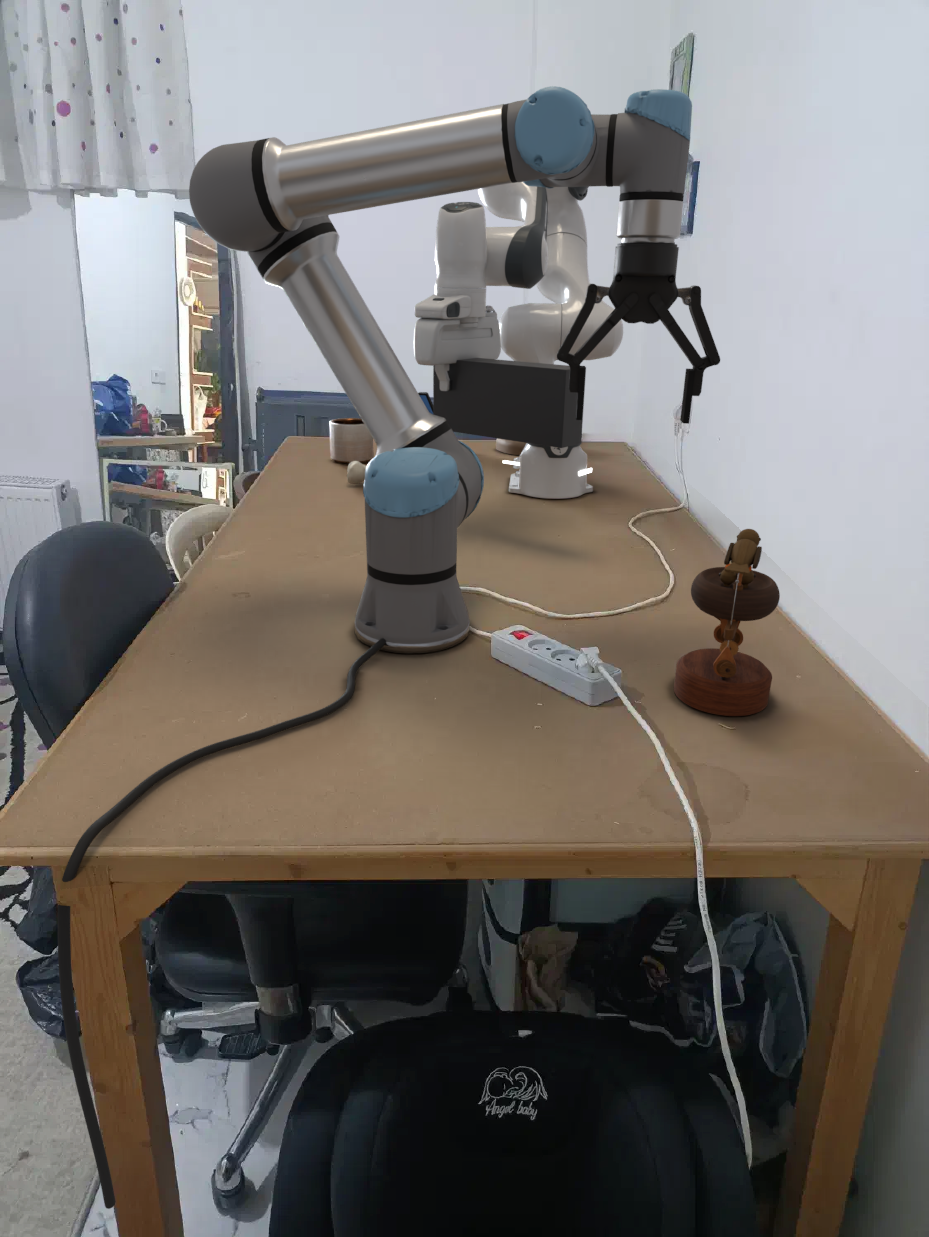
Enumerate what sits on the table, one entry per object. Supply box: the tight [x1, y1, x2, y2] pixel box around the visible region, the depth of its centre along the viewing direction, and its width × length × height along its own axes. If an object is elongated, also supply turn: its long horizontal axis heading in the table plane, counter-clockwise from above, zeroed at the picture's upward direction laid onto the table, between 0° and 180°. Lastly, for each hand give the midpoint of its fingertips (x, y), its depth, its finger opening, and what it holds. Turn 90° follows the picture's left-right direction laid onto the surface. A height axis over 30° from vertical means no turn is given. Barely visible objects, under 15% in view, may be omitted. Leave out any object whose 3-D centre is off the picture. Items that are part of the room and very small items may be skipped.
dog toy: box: [346, 461, 367, 485], centre depth 190 cm, size 20×6×5 cm, turn 99°
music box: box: [673, 528, 781, 717], centre depth 94 cm, size 15×11×20 cm
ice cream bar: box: [495, 438, 526, 456], centre depth 223 cm, size 21×28×4 cm
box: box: [432, 358, 587, 448], centre depth 145 cm, size 28×6×12 cm, turn 51°
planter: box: [328, 417, 375, 464], centre depth 212 cm, size 11×11×10 cm
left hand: (631, 420), depth 110 cm, fingers open, 13 cm apart
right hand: (459, 388), depth 151 cm, fingers closed on box, 6 cm apart
